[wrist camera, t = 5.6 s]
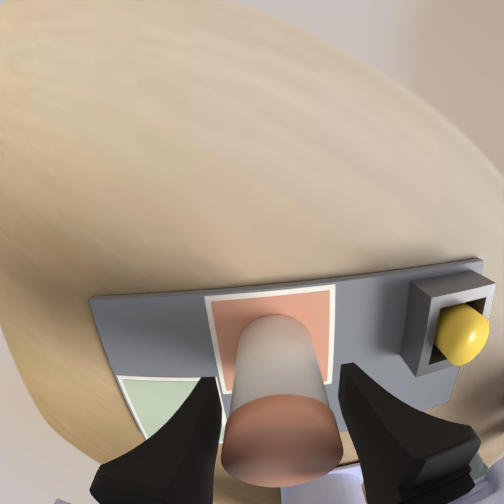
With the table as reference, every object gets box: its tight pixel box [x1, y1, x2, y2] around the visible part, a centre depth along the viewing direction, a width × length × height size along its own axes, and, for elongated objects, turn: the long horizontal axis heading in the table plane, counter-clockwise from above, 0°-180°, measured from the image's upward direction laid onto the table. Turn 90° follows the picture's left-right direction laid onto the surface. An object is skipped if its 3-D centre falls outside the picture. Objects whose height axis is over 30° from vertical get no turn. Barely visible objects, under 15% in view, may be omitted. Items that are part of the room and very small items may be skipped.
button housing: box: [400, 270, 496, 378], centre depth 14 cm, size 5×5×2 cm
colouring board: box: [89, 258, 483, 444], centre depth 16 cm, size 12×24×1 cm, turn 95°
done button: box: [434, 303, 489, 366], centre depth 13 cm, size 3×3×3 cm
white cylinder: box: [221, 315, 343, 487], centre depth 12 cm, size 4×4×8 cm
